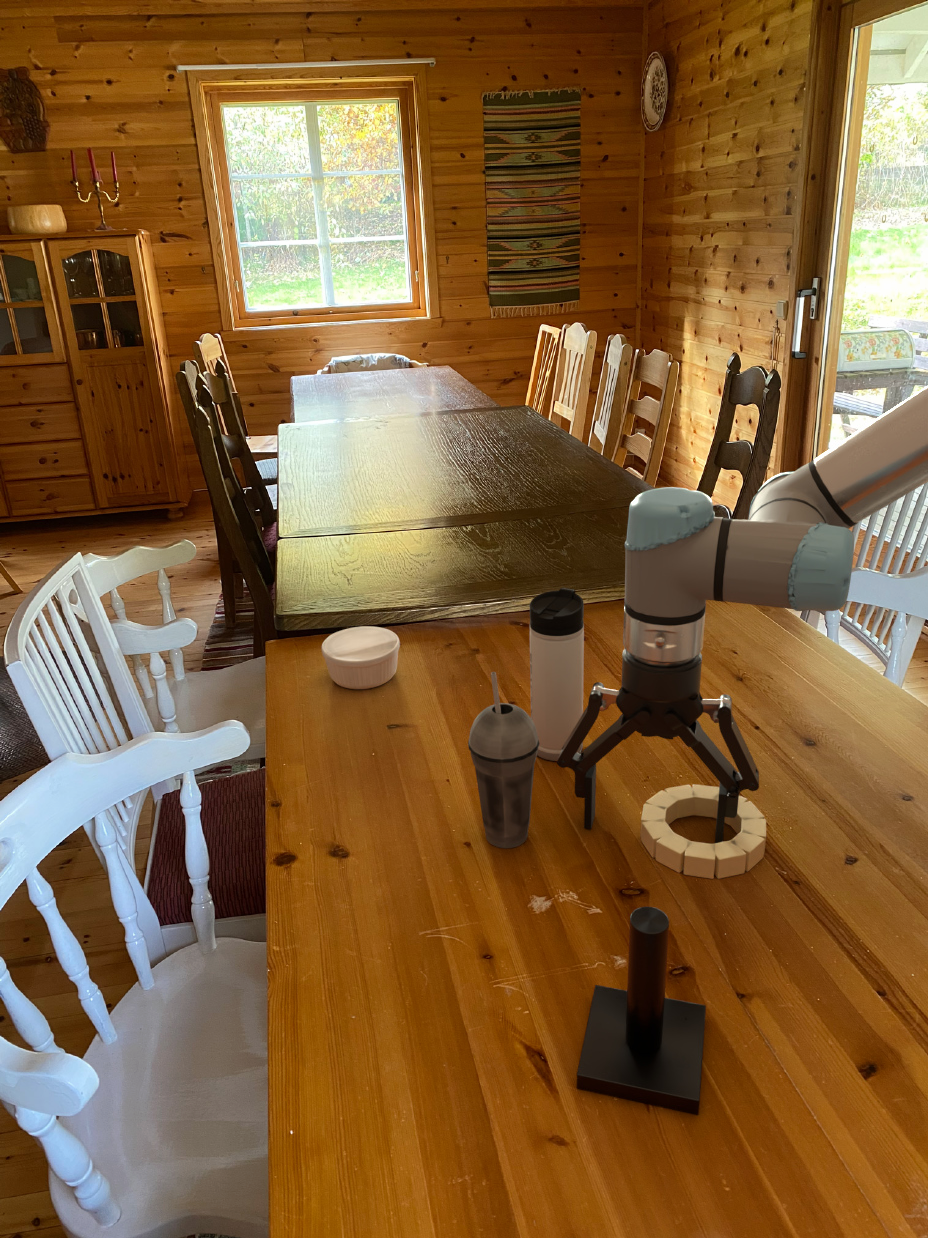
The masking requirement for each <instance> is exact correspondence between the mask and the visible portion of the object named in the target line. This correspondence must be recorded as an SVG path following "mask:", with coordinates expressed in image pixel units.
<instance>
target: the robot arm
mask: <svg viewBox="0 0 928 1238" xmlns="http://www.w3.org/2000/svg"><path fill="white" fill-rule="evenodd" d="M927 483H928V385H927V386H925V387H924V388H922V389H921V390H919V391H917V392H916V393H914V394H913V395H911V396H910V397H908V398H907V399H905V400H904V401H902V402H899V404H897V405H896V406H894V407H893V408H891V409H890V410H888V411H886V412H885V413H883V414H882V415H880V416H879V417H877V418H876V419H874V420H872V421H871V422H870V423H867V424H866V425H865V426H863V427H861V428H860V429H858V430H857V431H855V432H854V433H852V434H851V435H849V436H848V437H846V438H844V439H843V440H841V441H840V442H838V443H837V444H835V445H834V446H832V447H830V448H829V449H828V450H826V451H824V452H823V453H821V454H819V456H816V457H815V458H814V459H813V460H811V461H810V462H808V463H806V464H804V465H802V466H800V467H799V468H797V469H796V470H795V471H786V472H780V473H778V474H775V475H774V476H772V477H770V478H769V479H767V480H766V481H765V482H764V483H763V484H762V485H761V486H760V488H759V489H758V490H757V493H756V494H755V495H754V496H753V497H752V500H751V502H750V506H749V510H748V516H747V519H733V518H728V517H722V516H716V515H715V513H716V512H715V511H714V503H713V500H712V498H711V497H710V496H709V495H708V494H706V493H704V492H703V491H699V490H691V489H689V488H684V487H659V488H652V489H649V490H645V491H643V492H641V493H639V494H637V495H636V496H635V497H634V498H633V500H632V501H631V502H630V504H629V509H628V519H627V529H626V540H625V542H624V551H625V553H624V554H625V559H624V560H625V561H624V563H625V564H624V565H625V569H624V575H625V576H624V605H623V607H624V608H623V632H622V645H623V647H624V649H623V650H622V659H621V661H622V662H621V663H622V665H621V687H620V688H619V690H616V689H610V688H606V687H605V685H604V684H603V683H602V682H600V681H596V682H595V683H593V685H592V687H591V690H590V693H589V696H588V702H587V706H586V708H585V709H584V710H583V714H582V716H581V717H580V719H579V721H578V722H577V724H576V726H575V727H574V729H573V731H572V732H571V734H570V736H569V737H568V739H567V741H566V742H565V744H564V745H563V747H562V749H561V752H560V755H559V758H558V761H556V762H557V763H556V764H557V766H558V767H559V768H562V769H565V768H569V769H571V770H572V771H573V773H574V795H575V798H578V799H584V807H583V809H584V810H583V811H584V813H583V814H584V816H583V817H584V818H583V820H584V821H583V828H584V829H588V830H592V827H593V824H594V819H595V816H596V795H597V794H596V793H597V791H596V788H597V787H596V785H597V763H599V762H600V761H601V760H602V759H603V758H604V757H605V756H607V755H608V754H609V753H610V752H611V751H612V750H613V749H614V748H615V747H617V746H618V745H619V744H620V743H621V742H622V741H625V740H627V739H628V738H629V737H630V736H632V735H633V734H634V733H635V732H637V733H638V734H640V736H641V737H646V738H650V737H651V738H652V737H658V738H662V739H665V740H672V741H673V740H674V738H678V737H679V738H680V740H681V741H682V742H683V743H684V744H685V746H687V748H690V749H691V750H692V751H693V752H694V754H695V755H697V757H698V758H699V760H701V762H702V763H703V764H704V765H705V766H706V768H707V769H708V770H709V772H711V773H712V775H713V776H714V777H715V778H716V779H717V781H718V782H719V786H718V787H719V797H718V809H717V819H716V822H715V834H714V844H715V843H720V842H724V832H725V823H724V821H725V817H730V818H735V817H736V815H737V809H738V799H739V796H740V793H741V792H742V791H745V790H746V791H749V792H757V791H758V790H759V788H760V771H759V769H758V766H757V764H756V762H755V760H754V758H753V756H752V754H751V752H750V749H749V747H748V745H747V743H746V741H745V738H744V737H743V734H742V732H741V730H740V727H739V725H738V724H737V722H736V719H735V718H734V715H733V699H732V697H731V696H730V695H729V694H721V695H720V696H719V698H717V699H715V698H714V699H713V698H703V696H702V694H701V681H702V680H701V678H702V666H703V655H702V653H701V652H702V651H703V649H704V640H705V639H704V638H705V625H706V609H707V607H706V606H707V601H714V602H721V603H724V602H726V603H736V604H744V605H753V606H761V607H769V608H770V607H771V608H778V609H779V608H780V609H789V610H793V611H796V612H805V611H816V612H817V611H819V612H836V611H839V610H840V609H843V607H844V606H845V605H846V603H847V600H848V597H849V592H850V585H851V581H852V573H853V564H854V562H853V561H854V553H855V535H854V533H853V531H852V530H851V529H850V528H852V527H854V526H856V525H857V524H858V523H860V522H861V521H863V520H865V519H866V518H868V517H870V516H873V514H875V513H877V512H879V511H881V510H882V509H884V508H886V507H887V506H889V505H891V504H892V503H895V502H896V501H898V500H899V499H901V498H903V497H904V496H906V495H908V494H909V493H911V492H913V491H916V489H919V488H920V487H922V486H923V485H925V484H927ZM612 704H613V705H614V704H615V706H616V707H617V708H618V710H619V711H620V713H621V714H620V715H619V717H618V719H617V720H616V721H614V722H613V723H612V724H611V725H610V726H609V727H607V728H606V729H605V731H603V732H602V733H601V734H600V735H599V736H598V737H596V738H595V740H594V741H592V742H591V743H590V744H589V745H588V746H587V747H586V748H584V749H583V750H582V751H580V752H579V753H576V752H577V750H578V749H579V747H580V745H581V744H582V742H583V743H584V741H585V739H586V737H587V735H588V734H589V733H590V731H591V729H592V728H593V726H594V724H595V723H596V721H597V719H598V717H599V715H600V712H605V711H607V710H608V709H609V707H610V706H611V705H612ZM703 713H704V714H707V715H708V716H709V719H710V720H711V721H712V722H713V723H714V724H718V728H719V732H720V735H721V737H722V739H723V741H724V743H725V745H726V747H727V749H728V751H729V754H730V755H731V758H732V760H733V762H734V764H735V766H736V768H737V769H736V768H735V767H734V765H733V764H732V763H731V762H730V760H728V759H727V757H726V756H725V754H723V752H722V751H721V749H719V747H718V746H717V745H716V743H714V742H713V740H712V739H711V738H710V736H709V735H708V734H707V733H706V732H705V731H704V729H703V727H702V725H701V723H700V722H699V720H698V719H699V718H700V717H701V716H702V715H703Z"/></svg>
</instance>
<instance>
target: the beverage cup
mask: <svg viewBox="0 0 928 1238" xmlns="http://www.w3.org/2000/svg"><path fill="white" fill-rule="evenodd" d="M490 679H491V687H492V694H493V702H494V703H493V704H492V705H489V706H487V707H485V708H484V709H483V710H482V711H480V712H479V713H478V715H477V716H476V717H475V719H474V720H473V723H472V725H471V727H470V730H469V737H468V740H467V741H468V742H467V745H468V747H467V748H468V750H469V751H470V757H471V760H472V764H473V766H474V770H475V775H476V784H477V791H478V798H479V804H480V810H481V818H482V824H483V825H482V826H483V828H484V833H485V838H486V841H487V842H488V843H489V844H491V845H492V846H494V847H496V848H499V849H501V848H502V849H513V848H516V847H517V848H518V847H519V846H521V845H522V844H524V843H525V842H526V841H527V839H528V837H529V827H530V823H531V810H532V798H533V784H534V773H535V772H534V771H535V764H536V760H537V757H538V755H537V751H538V747H539V744H540V743H539V739H538V735H537V731H536V727H535V724H534V722H533V720H532V719H531V715H529V713H527V712H526V711H525V710H524V709H523V708H521V707H520V706H517V705H515V704H512V703H507V702H500V694H499V693H500V692H499V687H498V677H497V673H496V671H492V672H490Z"/></svg>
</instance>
